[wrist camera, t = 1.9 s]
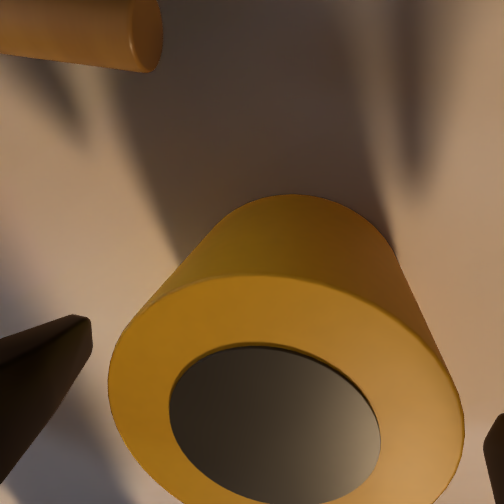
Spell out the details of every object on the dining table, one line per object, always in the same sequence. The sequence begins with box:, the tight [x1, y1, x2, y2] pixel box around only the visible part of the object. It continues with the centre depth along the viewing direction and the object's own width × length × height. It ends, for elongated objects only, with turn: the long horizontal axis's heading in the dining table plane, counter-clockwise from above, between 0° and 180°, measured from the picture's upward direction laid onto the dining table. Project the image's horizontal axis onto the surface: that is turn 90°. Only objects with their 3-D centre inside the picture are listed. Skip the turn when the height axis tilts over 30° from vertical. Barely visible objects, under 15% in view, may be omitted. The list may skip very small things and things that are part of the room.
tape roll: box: [108, 194, 465, 504], centre depth 9 cm, size 6×6×5 cm
